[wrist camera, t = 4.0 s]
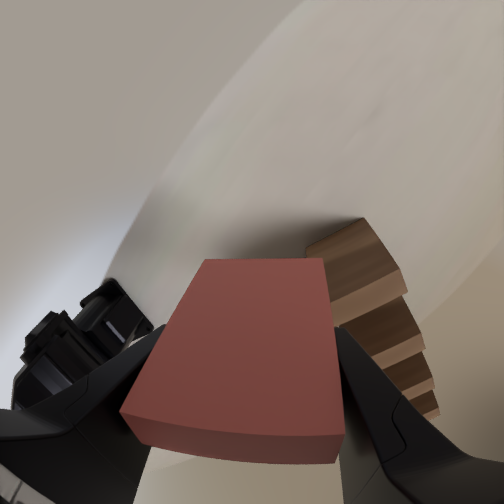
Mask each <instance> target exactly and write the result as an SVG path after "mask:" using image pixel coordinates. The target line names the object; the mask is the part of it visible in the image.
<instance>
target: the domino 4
mask: <svg viewBox="0 0 504 504" xmlns="http://www.w3.org/2000/svg"><path fill="white" fill-rule="evenodd" d="M382 370H383V371H384V372H385V374H386V375H387V376H388V377H389V378H390V379H391V381H392V382H393V383H394V384H395V385H396V386H397V387H398V389H399V390H400V391H401V392H402V395H405V397H406V398H407V399H408V400H410V399H413V398H415V397H417V396H419V395H421V394H423V393H426V392H428V391H430V390H432V389H434V388H435V385H434V381H433V377H432V374H431V372H430V369H429V367H428V365H427V362H426V360H425V358H424V355H423V353H422V351H421V352H419V353H417V354H415V355H413V356H410V357H408V358H406V359H404V360H402V361H400V362H398V363H396V364H393V365H391V366H389V367H387V368H384V369H382Z"/></svg>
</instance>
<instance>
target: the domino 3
mask: <svg viewBox="0 0 504 504" xmlns="http://www.w3.org/2000/svg"><path fill="white" fill-rule="evenodd" d="M339 327H344V328H346V329H347V330H348V331H349V333H350V334H351V335H352V336H353V337H354V338H355V339H356V341H357V342H358V343H359V344H360V345H361V346H362V347H363V348H364V350H365V351H366V352H367V353H368V354H369V355H370V356H371V358H372V359H373V360H374V361H375V362H376V363H377V364H378V366H379V367H380V368H381V369H384V368H387V367H389V366H391V365H393V364H396V363H398V362H400V361H402V360H404V359H406V358H408V357H410V356H413V355H415V354H417V353H419V352H421V351H422V350H424V349H425V345H424V341H423V338H422V334H421V332H420V330H419V328H418V326H417V324H416V322H415V320H414V318H413V316H412V314H411V312H410V310H409V308H408V306H407V304H406V303H405V301H404V299H403V297H402V295H401V296H399V297H397V298H395V299H393V300H392V301H390V302H388V303H386V304H384V305H381V306H379V307H377V308H375V309H373V310H371V311H369V312H367V313H365V314H363V315H361V316H359V317H356V318H354V319H352V320H350V321H348V322H345V323H343V324H341V325H339Z"/></svg>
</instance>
